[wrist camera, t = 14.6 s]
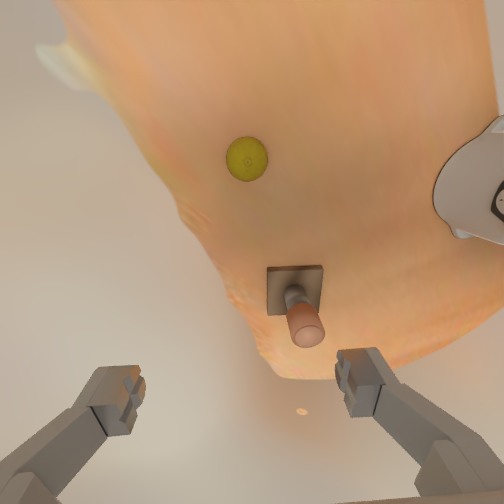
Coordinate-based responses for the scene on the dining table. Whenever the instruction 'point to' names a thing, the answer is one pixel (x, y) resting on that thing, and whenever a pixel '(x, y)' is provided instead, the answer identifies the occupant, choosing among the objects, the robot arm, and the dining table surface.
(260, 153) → the lemon
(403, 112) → the dining table surface
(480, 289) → the dining table surface
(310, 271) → the stud base
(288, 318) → the cap
